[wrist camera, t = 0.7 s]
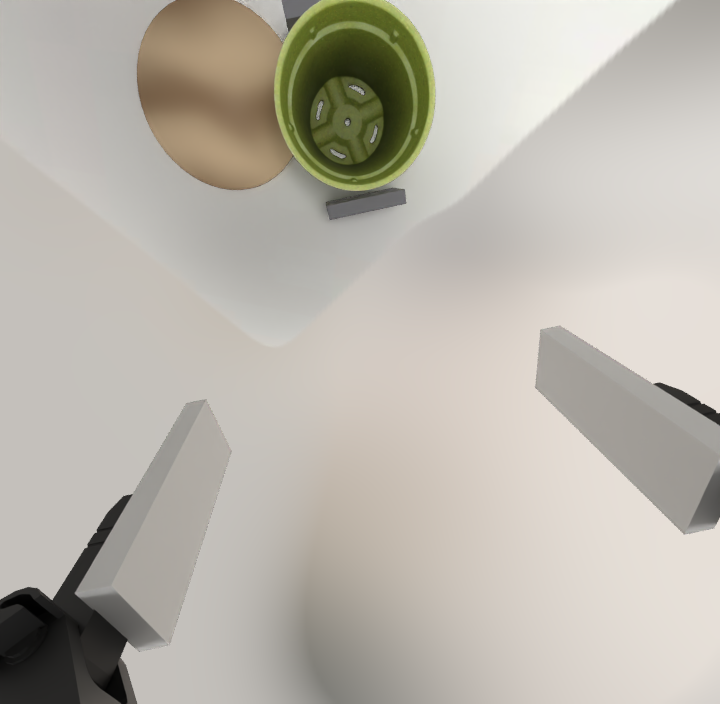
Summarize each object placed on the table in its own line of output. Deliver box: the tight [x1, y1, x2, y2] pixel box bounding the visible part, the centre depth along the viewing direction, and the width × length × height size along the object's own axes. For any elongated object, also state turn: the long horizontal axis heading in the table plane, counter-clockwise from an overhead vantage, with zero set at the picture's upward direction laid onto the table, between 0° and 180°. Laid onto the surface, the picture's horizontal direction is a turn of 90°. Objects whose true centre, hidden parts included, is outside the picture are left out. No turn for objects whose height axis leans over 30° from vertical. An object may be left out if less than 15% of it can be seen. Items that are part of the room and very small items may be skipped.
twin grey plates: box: [282, 0, 406, 220], centre depth 25 cm, size 13×6×5 cm, turn 11°
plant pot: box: [274, 0, 435, 191], centre depth 23 cm, size 9×9×9 cm
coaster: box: [137, 0, 293, 190], centre depth 26 cm, size 12×12×1 cm
